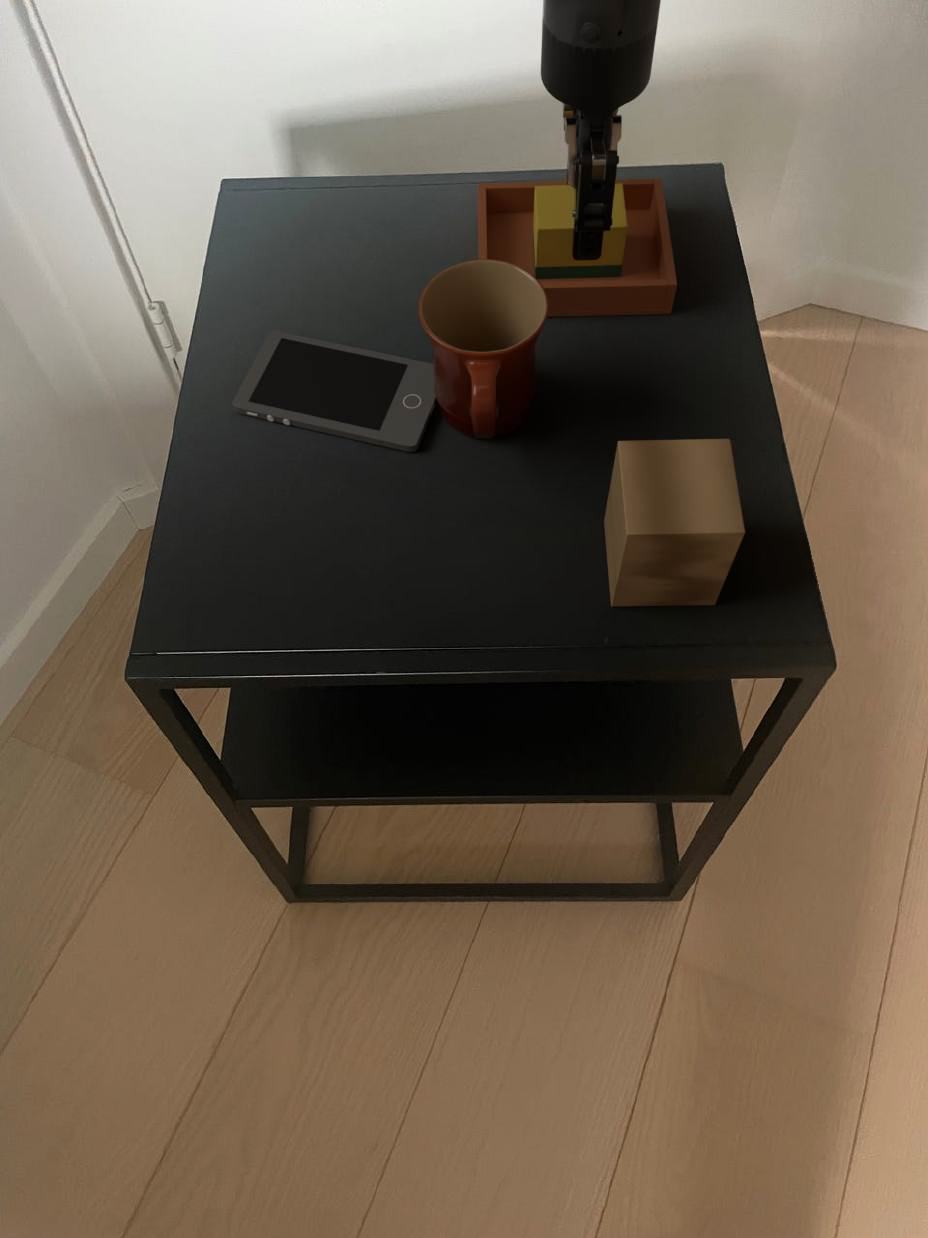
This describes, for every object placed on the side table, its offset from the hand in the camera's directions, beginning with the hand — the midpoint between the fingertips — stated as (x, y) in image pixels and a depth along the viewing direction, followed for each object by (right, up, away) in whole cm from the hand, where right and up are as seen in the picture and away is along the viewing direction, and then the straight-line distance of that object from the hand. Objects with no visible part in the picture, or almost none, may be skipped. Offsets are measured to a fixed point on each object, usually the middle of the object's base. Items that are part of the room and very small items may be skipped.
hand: (582, 219), depth 76 cm
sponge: (0, -2, +3) cm, 4 cm away
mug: (-8, -17, -4) cm, 19 cm away
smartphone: (-19, -14, -2) cm, 24 cm away
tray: (0, -2, +4) cm, 4 cm away
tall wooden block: (+4, -28, -10) cm, 30 cm away
